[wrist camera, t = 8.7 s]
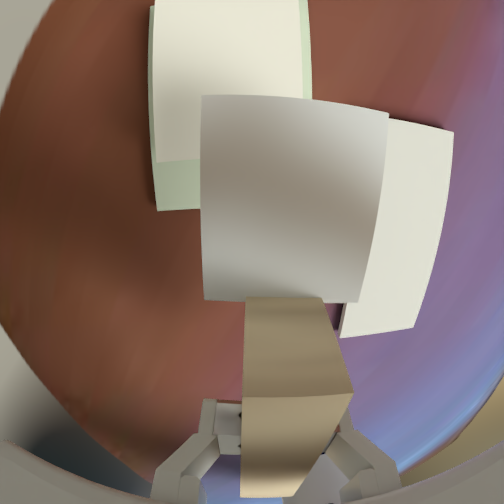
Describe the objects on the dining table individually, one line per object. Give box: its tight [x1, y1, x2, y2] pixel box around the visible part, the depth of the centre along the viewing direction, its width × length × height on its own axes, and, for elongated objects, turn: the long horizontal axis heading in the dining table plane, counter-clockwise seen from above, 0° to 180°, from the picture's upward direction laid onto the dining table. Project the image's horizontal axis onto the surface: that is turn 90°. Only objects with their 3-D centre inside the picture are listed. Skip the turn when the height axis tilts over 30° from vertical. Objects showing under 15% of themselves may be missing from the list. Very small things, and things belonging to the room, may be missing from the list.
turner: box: [200, 95, 389, 498], centre depth 8 cm, size 15×5×4 cm, turn 178°
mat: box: [148, 0, 312, 211], centre depth 13 cm, size 13×9×1 cm
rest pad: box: [338, 118, 454, 338], centre depth 17 cm, size 16×7×1 cm, turn 1°
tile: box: [153, 0, 303, 163], centre depth 12 cm, size 2×7×9 cm
